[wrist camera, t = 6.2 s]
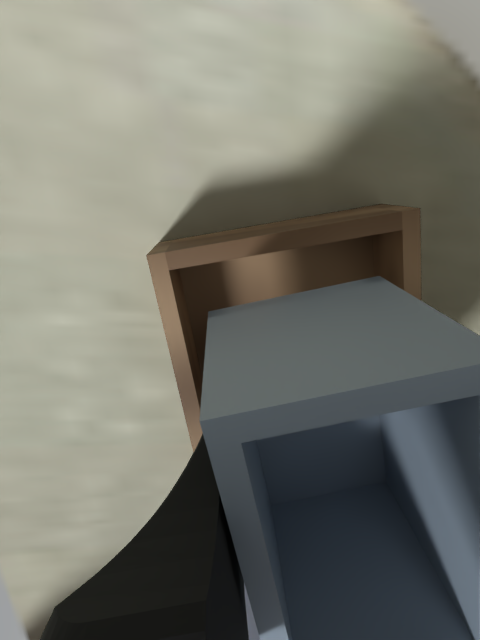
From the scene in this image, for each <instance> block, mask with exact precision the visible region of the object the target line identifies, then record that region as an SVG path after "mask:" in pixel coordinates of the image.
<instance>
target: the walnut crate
mask: <svg viewBox="0 0 480 640" xmlns="http://www.w3.org/2000/svg"><path fill="white" fill-rule="evenodd" d="M146 256H147V260H148V264H149V268H150V273H151V277H152V281H153V285H154V289H155V294H156V298H157V302H158V306H159V310H160V314H161V319H162V323H163V327H164V331H165V335H166V339H167V344H168V348H169V352H170V356H171V360H172V365H173V369H174V373H175V377H176V381H177V385H178V390H179V394H180V398H181V402H182V406H183V410H184V415H185V419H186V423H187V427H188V431H189V435H190V440H191V444H192V448H193V452H194V451H195V449H196V447H197V445H198V442H199V440H200V438H201V436H202V434H203V432H202V429H201V425H200V421H199V420H200V408H201V396H202V383H203V371H204V358H205V346H206V333H207V321H208V312H209V311H213V310H218V309H223V308H228V307H232V306H237V305H242V304H247V303H252V302H256V301H261V300H266V299H271V298H275V297H280V296H285V295H290V294H295V293H299V292H304V291H309V290H314V289H318V288H323V287H328V286H333V285H337V284H342V283H347V282H352V281H357V280H361V279H366V278H371V277H376V276H381V277H382V278H384V279H386V280H387V281H389V282H391V283H392V284H394V285H396V286H397V287H399V288H401V289H402V290H404V291H406V292H407V293H409V294H411V295H412V296H414V297H416V298H417V299H419V300H421V229H420V208H413V207H404V206H396V205H387V204H378V205H372V206H367V207H361V208H355V209H349V210H343V211H338V212H332V213H326V214H320V215H314V216H308V217H303V218H297V219H291V220H285V221H279V222H274V223H268V224H262V225H256V226H250V227H245V228H239V229H233V230H227V231H221V232H216V233H210V234H204V235H198V236H192V237H187V238H181V239H175V240H169V241H163V242H159V243H158V244H157V245H156V246H155V247H154V248H153V249H152V250H151V251H150V252H149V253H148V254H147V255H146Z"/></svg>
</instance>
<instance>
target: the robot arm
mask: <svg viewBox="0 0 480 640" xmlns="http://www.w3.org/2000/svg"><path fill="white" fill-rule="evenodd" d="M40 640H260V637H259V634H258V630H257V626H256V623H255V619H254V616H253V612H252V608H251V605H250V601H249V598H248V594H247V590H246V587H245V583H244V580H243V576H242V573H241V569H240V565H239V562H238V558H237V555H236V551H235V547H234V544H233V540H232V537H231V533H230V529H229V526H228V522H227V519H226V515H225V511H224V508H223V504H222V501H221V497H220V493H219V490H218V486H217V483H216V479H215V475H214V472H213V468H212V465H211V461H210V457H209V454H208V450H207V447H206V443H205V439H204V436H203V434H202V436H201V438H200V440H199V442H198V445H197V447H196V449H195V451H194V453H193V455H192V456H191V458H190V460H189V462H188V464H187V466H186V468H185V469H184V471H183V473H182V474H181V476H180V478H179V479H178V481H177V482H176V484H175V486H174V487H173V489H172V490H171V492H170V493H169V495H168V496H167V498H166V499H165V500H164V502H163V503H162V505H161V506H160V507H159V509H158V510H157V511H156V513H155V514H154V515H153V516H152V518H151V519H150V520H149V521H148V522H147V523H146V525H145V526H144V527H143V528H142V529H141V530H140V531H139V532H138V534H137V535H136V536H135V537H134V538H133V539H132V540H131V541H130V542H129V543H128V544H127V545H126V546H125V547H124V548H123V549H122V550H121V551H120V552H119V553H118V554H117V555H116V556H115V557H114V558H113V559H112V560H111V561H110V562H109V563H108V564H107V565H106V566H104V567H103V568H102V569H101V570H100V571H99V572H98V573H97V574H95V575H94V576H93V577H92V578H91V579H90V580H88V581H87V582H86V583H85V584H83V585H82V586H81V587H80V588H78V589H77V590H76V591H75V592H73V593H72V594H71V595H70V596H69V597H67V598H66V599H65V600H64V601H62V602H61V603H60V604H58V605H57V606H56V607H55V608H54V611H53V613H52V615H51V617H50V619H49V621H48V623H47V625H46V627H45V629H44V632H43V634H42V636H41V639H40Z"/></svg>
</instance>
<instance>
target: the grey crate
mask: <svg viewBox="0 0 480 640" xmlns="http://www.w3.org/2000/svg"><path fill="white" fill-rule="evenodd" d="M199 421H200V425H201V429H202V432H203V436H204V439H205V443H206V447H207V450H208V454H209V457H210V461H211V465H212V468H213V472H214V475H215V479H216V483H217V486H218V490H219V493H220V497H221V501H222V504H223V508H224V511H225V515H226V519H227V522H228V526H229V529H230V533H231V537H232V540H233V544H234V547H235V551H236V555H237V558H238V562H239V565H240V569H241V573H242V576H243V580H244V583H245V587H246V590H247V594H248V598H249V601H250V605H251V608H252V612H253V616H254V619H255V623H256V626H257V630H258V634H259V637H260V640H480V336H479V335H478V334H476V333H474V332H473V331H471V330H469V329H468V328H466V327H464V326H463V325H461V324H459V323H458V322H456V321H454V320H453V319H451V318H449V317H447V316H446V315H444V314H442V313H441V312H439V311H437V310H436V309H434V308H432V307H431V306H429V305H427V304H426V303H424V302H422V301H421V300H419V299H417V298H416V297H414V296H412V295H411V294H409V293H407V292H406V291H404V290H402V289H401V288H399V287H397V286H396V285H394V284H392V283H391V282H389V281H387V280H386V279H384V278H382V277H381V276H376V277H371V278H366V279H361V280H357V281H352V282H347V283H342V284H337V285H333V286H328V287H323V288H318V289H314V290H309V291H304V292H299V293H295V294H290V295H285V296H280V297H275V298H271V299H266V300H261V301H256V302H252V303H247V304H242V305H237V306H232V307H228V308H223V309H218V310H213V311H209V312H208V321H207V333H206V346H205V358H204V371H203V383H202V396H201V408H200V420H199Z"/></svg>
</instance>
